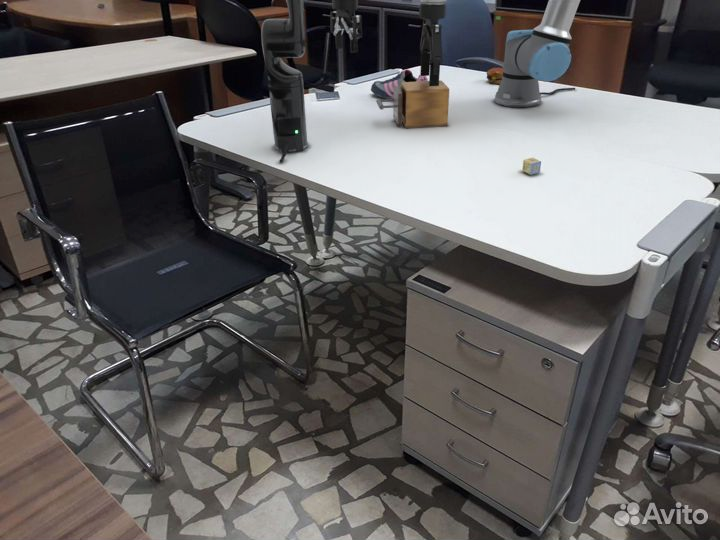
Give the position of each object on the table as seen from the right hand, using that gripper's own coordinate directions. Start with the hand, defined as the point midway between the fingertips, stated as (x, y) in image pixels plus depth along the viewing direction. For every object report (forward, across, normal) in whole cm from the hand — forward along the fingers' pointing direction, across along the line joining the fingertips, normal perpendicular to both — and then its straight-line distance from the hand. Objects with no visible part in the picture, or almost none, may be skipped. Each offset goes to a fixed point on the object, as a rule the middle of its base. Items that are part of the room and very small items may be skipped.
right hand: (429, 80), depth 171 cm
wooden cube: (+12, 0, -1) cm, 13 cm away
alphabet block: (+12, +46, +16) cm, 51 cm away
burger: (+12, -47, +38) cm, 61 cm away
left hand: (-8, -9, -24) cm, 27 cm away
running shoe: (+12, -28, -4) cm, 30 cm away
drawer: (+12, 0, -7) cm, 14 cm away
